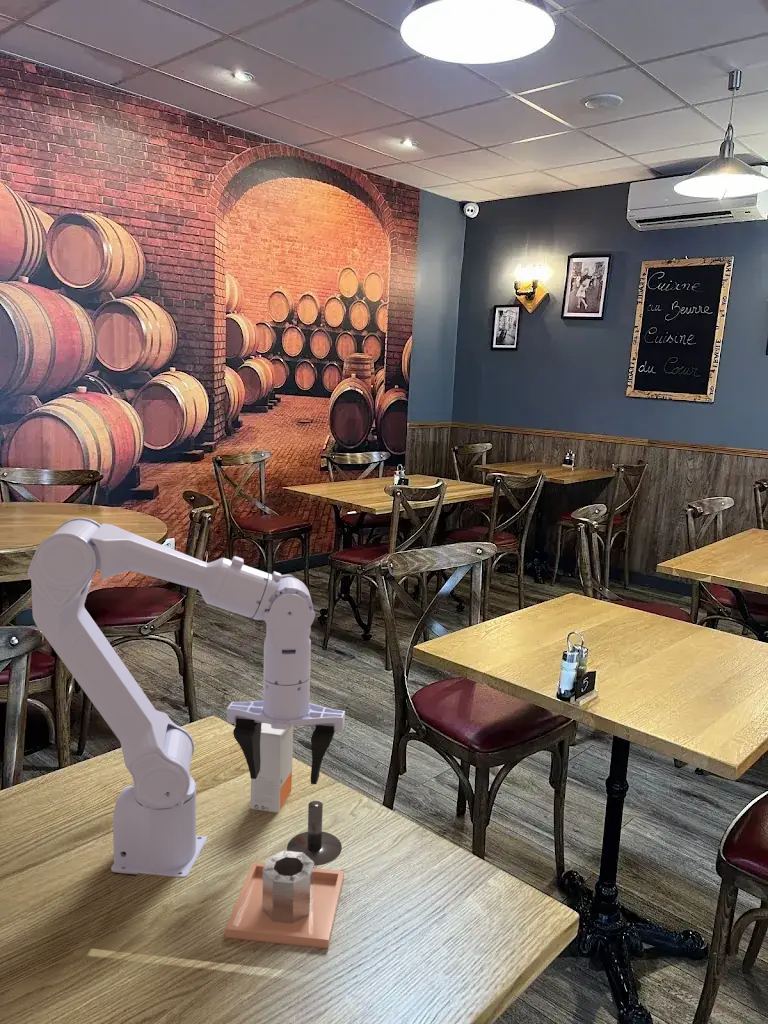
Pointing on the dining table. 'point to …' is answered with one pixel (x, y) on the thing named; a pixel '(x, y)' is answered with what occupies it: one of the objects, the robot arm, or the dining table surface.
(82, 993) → the dining table surface
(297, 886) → the octagonal pencil cup
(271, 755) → the skincare box
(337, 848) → the stand
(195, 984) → the dining table surface
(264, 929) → the tray
